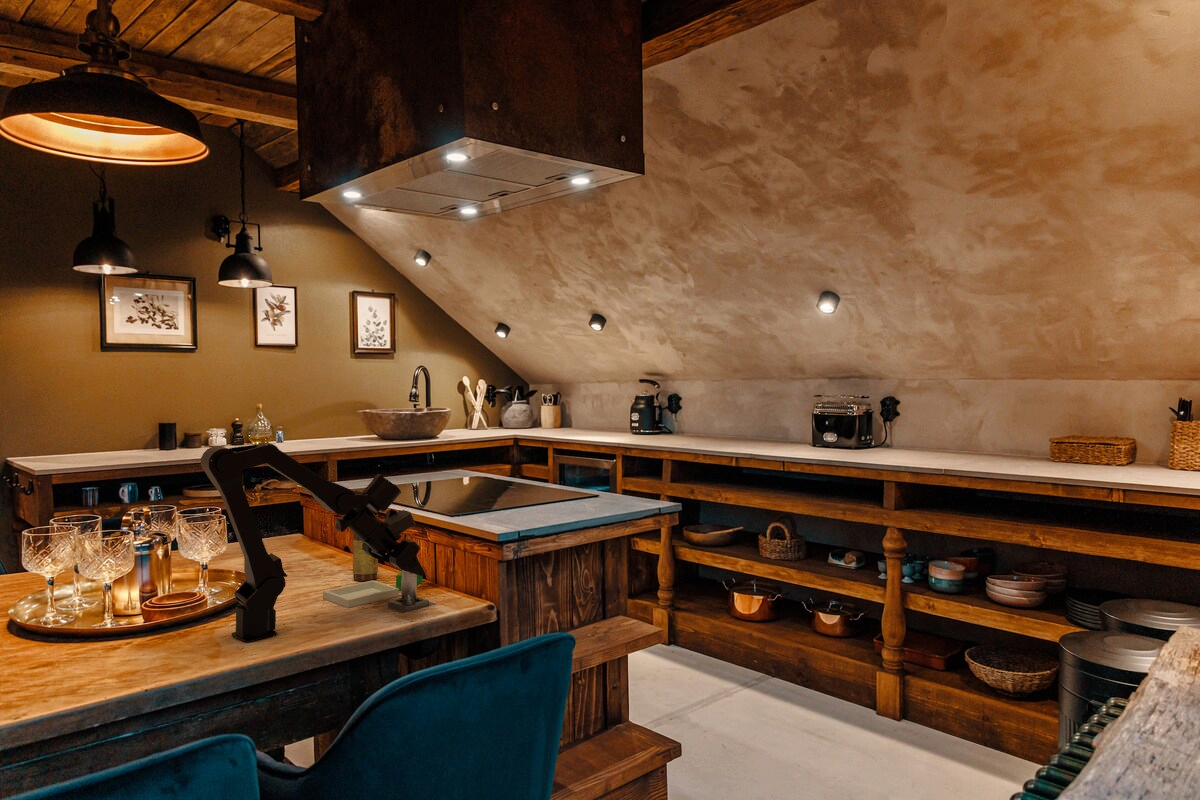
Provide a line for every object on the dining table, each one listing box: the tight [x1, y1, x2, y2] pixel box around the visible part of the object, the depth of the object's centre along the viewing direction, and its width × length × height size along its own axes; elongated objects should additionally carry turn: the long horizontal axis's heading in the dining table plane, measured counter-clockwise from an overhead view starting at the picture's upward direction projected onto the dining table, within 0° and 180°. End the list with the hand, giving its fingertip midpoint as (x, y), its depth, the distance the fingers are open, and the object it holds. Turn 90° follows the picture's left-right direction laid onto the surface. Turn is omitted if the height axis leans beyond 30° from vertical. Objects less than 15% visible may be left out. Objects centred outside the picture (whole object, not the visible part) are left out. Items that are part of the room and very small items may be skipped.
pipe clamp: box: [395, 571, 424, 593], centre depth 188 cm, size 11×4×5 cm, turn 173°
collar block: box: [379, 596, 437, 614], centre depth 172 cm, size 10×8×1 cm
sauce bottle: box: [352, 506, 379, 582], centre depth 195 cm, size 6×6×20 cm
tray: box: [322, 579, 400, 609], centre depth 177 cm, size 14×11×2 cm
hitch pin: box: [400, 542, 420, 605], centre depth 172 cm, size 4×4×14 cm
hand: (413, 570), depth 172 cm, fingers open, 9 cm apart
